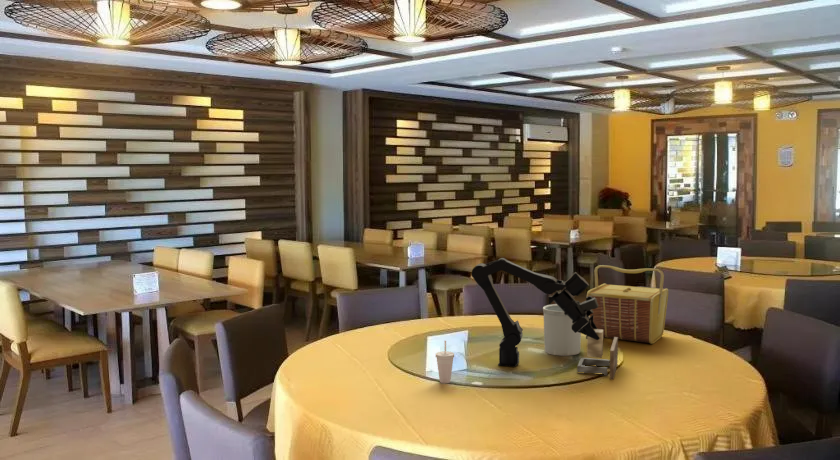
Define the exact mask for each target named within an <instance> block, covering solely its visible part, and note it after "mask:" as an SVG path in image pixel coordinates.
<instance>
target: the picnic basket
mask: <svg viewBox="0 0 840 460" xmlns="http://www.w3.org/2000/svg"><path fill="white" fill-rule="evenodd" d="M600 268H607V269H611V270H613V271H616V272H618V273H619V272H620V273H624V274H641V273H644V272H647V271H648V272H658V273H659V274H660V280H659V288H655V287H645V286H631V285H619V284H618V285H617V284H607V283H602V284H600V285H599V276H598V271H599V270H598V269H600ZM593 272H594V273H593V275H594V287H593V288H591V289H589V290H588V291H587V293H586V298H587V297H588V296H592V297H593V298H594V297H595V298H596V299H597V303H598V305H599V306H598V308H596V309H592V310H593V311H594V312H593V313H592V314H590V315H589V316H590V317H591V316H592V315H594V317H593V321H594V323H595V325H596V327H597V328H598V329H602V330H603V338H606V339H613V340H614V337H618V340H623V341H631V342H638V343H646V344H650V345H654V344H655V343H656V342H658V340H660V339H661V338H662V336H663V335H664V330H665V326H666V325H665V324H666V318H667V316H666V315H667V311H668V310H667V309H668V299H669V289H668V288H664V283H665V282H664V281H665V274H664V272H663V270H661V269H660V268H659V269H658V268H653V267H652V268H648V267H646V268H645V267H644V268H637V269H625V268H620V267H618V266H613V265H606V264H605V265H604V264H602V265H601V264H600V265H597V266H596V267H594V271H593Z"/></svg>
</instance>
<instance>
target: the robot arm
mask: <svg viewBox="0 0 840 460" xmlns="http://www.w3.org/2000/svg"><path fill="white" fill-rule="evenodd" d="M500 271H503V272H505V273H508V274H509V275H512V276H514V277H517V278H518V279H521V280H522V281H523V280H524V281H525V282H528V283H529V284H531V285H532V286H534V287H535V288H536V289H538V290H539V291H541V292H542V293H544V294H545V295H548V304H547V305H552V303H553V302H554V304H557V305H558V306H559V307H560V308H561V309H562V310H563V311H564V314H565V315H567V316H568V317H569V318H570V319H571V320H572V323H573V324H572V330H573V331H574V332H575V333H576V332H577V331H578V333H581V335H584V336H589V337H591V338H593V339H596V340H599V339H600V338H599V336H598V335H597V333H596V332H595V330H594V329H598V328H597V327H596V325H595V323H594V321H593V317H594V315H592V316H591V317H590V316H589V315H590V314H592V313H593V312H594V311H593V310H592V309H596V308H598V306H599V305H598V303H597V299H596V298H595V297H594V298H593V297H592V296H588V297H587V296H586V300H584V301H582V302H580V301H579V300H575V298H574V297H579V296H580V295H581V294H582V293H583V292H584V291H586V289H588V288H589V287H590V284H589V282H588V281H587V280H586V279H585V278H584V277H582V276H581V275H580V274H578V272H576V271H575V272H573V274H572V275H571V276H570V277H569V278H568V279H567V280H566V281H565V280H562V279H561V280H560V279H557V278H556V277H554V276H552V275H549V274H544V273H538V272H534V271H532V270H530V269H528V268H526V267H524V266H520V265H519V264H516V263H514V262H513V261H510V260H508V259H506V258H505V257H501V258H499V259H496V260H494V261H490V262H488V263H477V264H476V265H475V266H474V267H473V268H472V270H471V277H472V279H473V280H474V281H475V283H476V284H477V285H478V286H479V287H480V288H481V289H482V290H483V292H484V294H485V296H486V297H487V299H488V302H489V303H490V305H491V307H492V309H493V311H494V313H495V315H496V317H497V319H498V321H499V322H500V325H501V330H502V335H503V338H502V339H501V340H500V343H499V346H498V347H499V348H498V351H499V352H498V355H499V358H498V363H497V365H498V367H499V366H501V367H513V368H514V367H517V365H518V364H519V363H520V351H518V350H519V349H518V348H519V347H518V345H519V344H520V343H521V341H522V339H523V330H524V329H523V328H522V327H521V324H520V321H519V319H517V320H515V321H514V319H512V317H511V315H510V314H509V312H508V310H507V308H506V306H505V304H504V302H503V300H502V298H501V297H500V294H499V293H498V291H497V289H496V287H495V285H494V281H493V277H492V275H494V274H495V273H498V272H500ZM552 294H553V295H552Z"/></svg>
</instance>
